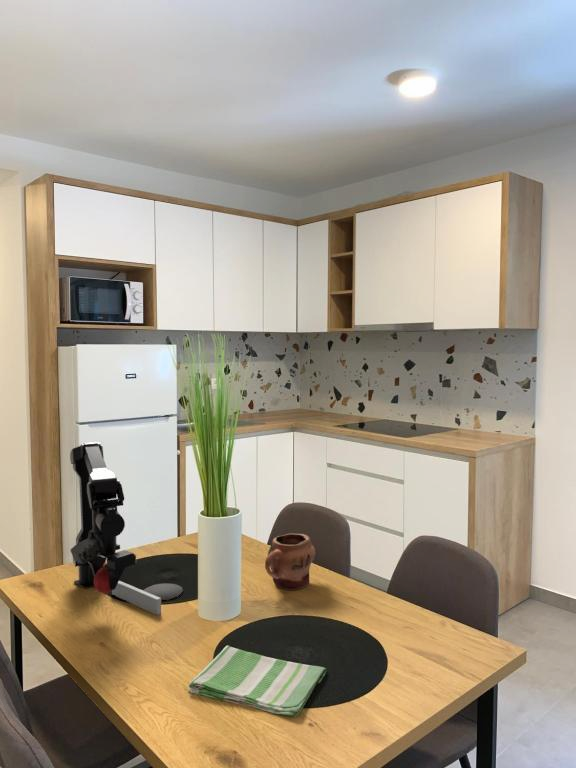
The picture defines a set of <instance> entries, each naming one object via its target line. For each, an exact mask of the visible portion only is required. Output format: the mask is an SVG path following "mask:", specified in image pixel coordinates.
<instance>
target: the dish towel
mask: <svg viewBox="0 0 576 768" xmlns="http://www.w3.org/2000/svg"><path fill="white" fill-rule="evenodd" d="M326 673H327V667H323V666H319V665H310V664H303V663H299V662H293V661H288V660H283V659H279V658H273V657H268V656H265V655H262V654H257V653H254V652H250V651H246V650H242V649H240V648H236V647H232V646H230V645H226V646H225V647H224V648H223V649H222V650H221V651H220V652H219V653H218V654H217V655H216V656H215V658H213V660H211V661H210V662H209V664H207V665H206V666H205V667H204V668H203V669H202V670H201V671H200V672H199V673H198V674H197V675H196V676H195V677H194V678H193V679H192V680H191V681H190V682H189V683H188V688H189V690H188V692H187V693H188V694H195V695H199V696H203V697H207V698H212V699H216V700H220V701H223V702H230V703H233V704H236V705H239V706H242V707H247V708H253V709H258V710H260V711H264V712H269V713H271V714H277V715H284V716H292V717H298V715H299V714H300V713H301V711H302V710H303V708H304V706H305V705H306V703H307V701H308V699H309V697H310V696H311V694H312V693H313V691H314V689H315V687H316V686H317V685H319V684H320V683H321V681H322V680H323V679H324V677H325V675H326ZM317 683H318V684H317Z"/></svg>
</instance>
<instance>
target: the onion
mask: <svg viewBox="0 0 576 768" xmlns="http://www.w3.org/2000/svg"><path fill="white" fill-rule="evenodd" d="M106 565H107V562H105V564H104V565H103V566H106ZM93 587H94V588H95V589H96V590H97V592H99V593H100V594H103V595H108V594H110V592H112V590H111V589H110V584H109V575H108V571H107V570H106V569H105V568H104V567H102V568H101V569H100V570H98V571H97V573H96V574H95V577H94V586H93Z"/></svg>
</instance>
